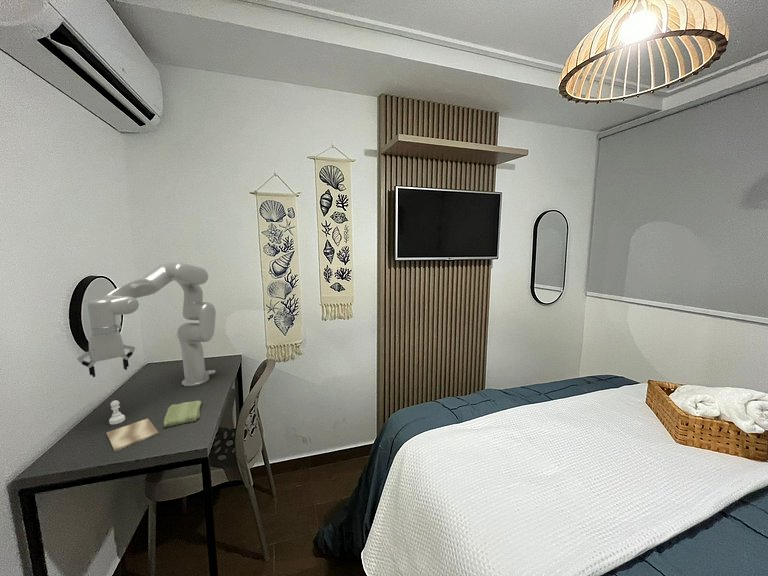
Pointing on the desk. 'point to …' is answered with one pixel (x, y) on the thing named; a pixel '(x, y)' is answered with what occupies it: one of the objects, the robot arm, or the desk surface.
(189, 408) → the washcloth
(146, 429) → the oak pad
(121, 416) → the chess pawn
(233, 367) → the desk surface
